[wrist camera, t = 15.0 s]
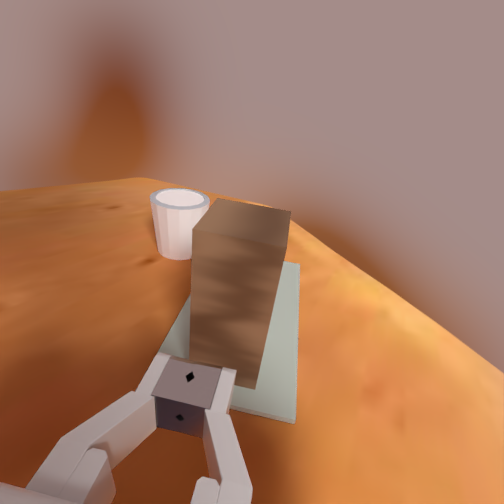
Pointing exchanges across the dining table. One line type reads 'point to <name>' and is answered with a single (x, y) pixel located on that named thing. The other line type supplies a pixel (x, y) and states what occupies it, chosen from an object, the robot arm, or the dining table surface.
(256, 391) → the mat
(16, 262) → the dining table surface
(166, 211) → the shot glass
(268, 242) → the walnut block
